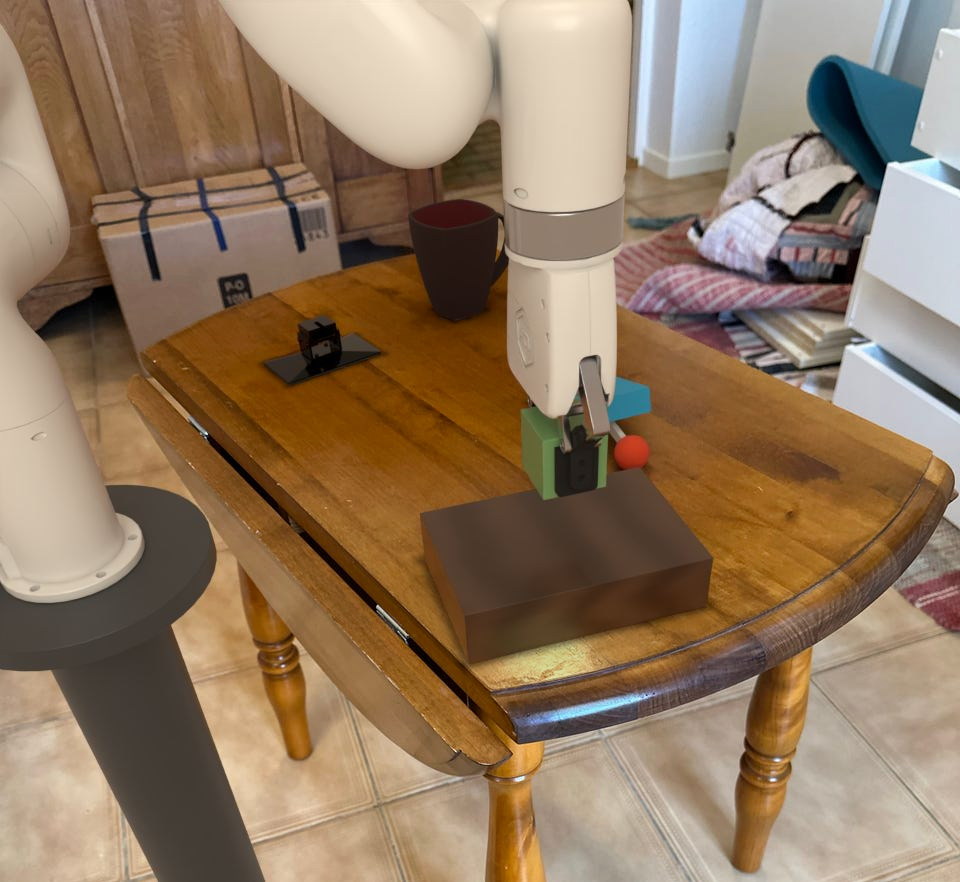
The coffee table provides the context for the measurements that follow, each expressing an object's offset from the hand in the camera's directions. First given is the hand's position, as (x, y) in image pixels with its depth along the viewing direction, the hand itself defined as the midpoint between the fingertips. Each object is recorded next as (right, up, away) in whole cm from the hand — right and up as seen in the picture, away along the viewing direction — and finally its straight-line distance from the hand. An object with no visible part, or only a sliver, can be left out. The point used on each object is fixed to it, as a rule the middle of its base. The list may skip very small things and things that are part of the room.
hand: (562, 470), depth 71 cm
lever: (+6, +8, +25) cm, 27 cm away
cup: (-7, +31, +51) cm, 60 cm away
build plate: (-25, +21, +41) cm, 53 cm away
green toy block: (0, 0, 0) cm, 1 cm away
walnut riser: (0, -8, +7) cm, 11 cm away
